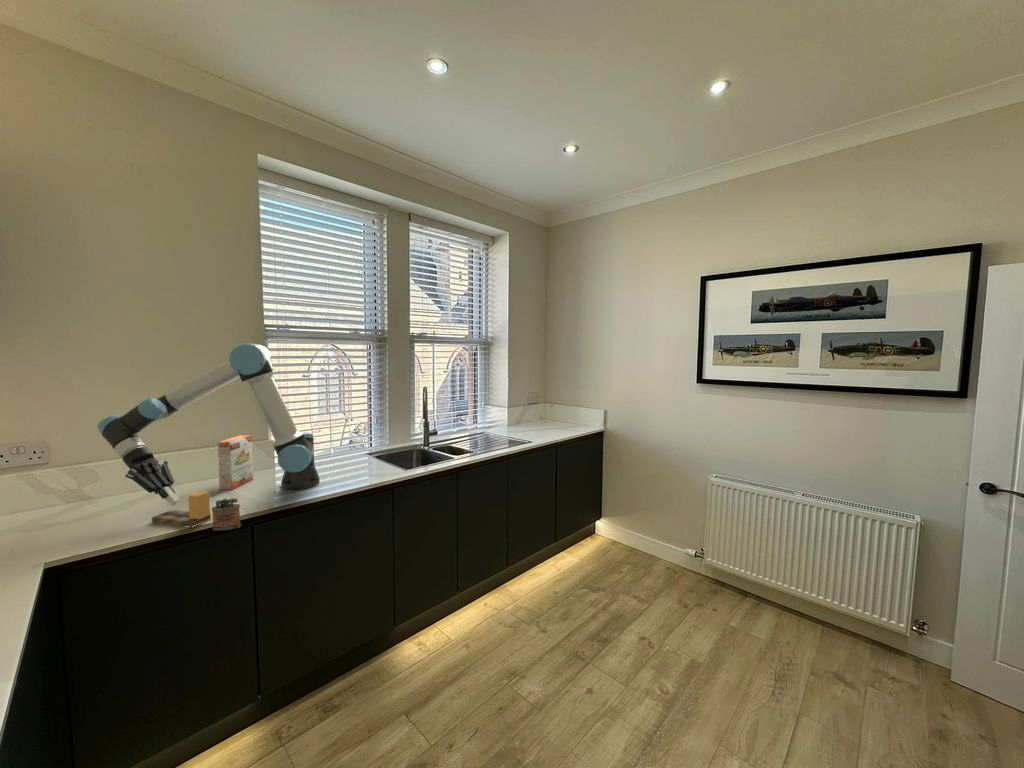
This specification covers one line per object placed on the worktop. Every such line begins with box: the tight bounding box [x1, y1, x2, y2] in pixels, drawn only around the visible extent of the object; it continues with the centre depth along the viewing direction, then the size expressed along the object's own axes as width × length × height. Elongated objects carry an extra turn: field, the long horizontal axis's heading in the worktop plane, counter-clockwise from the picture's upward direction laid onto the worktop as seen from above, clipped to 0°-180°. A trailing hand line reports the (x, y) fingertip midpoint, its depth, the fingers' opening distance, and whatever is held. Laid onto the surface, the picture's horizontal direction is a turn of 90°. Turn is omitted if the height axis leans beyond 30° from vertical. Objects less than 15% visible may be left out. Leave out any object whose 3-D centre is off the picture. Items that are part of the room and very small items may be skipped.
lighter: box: [211, 497, 242, 531], centre depth 137 cm, size 8×3×10 cm, turn 105°
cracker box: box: [217, 434, 254, 491], centre depth 180 cm, size 14×6×21 cm, turn 179°
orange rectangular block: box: [187, 491, 211, 519], centre depth 141 cm, size 4×4×8 cm
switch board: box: [151, 509, 212, 528], centre depth 143 cm, size 17×7×2 cm, turn 77°
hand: (175, 503), depth 142 cm, fingers closed
